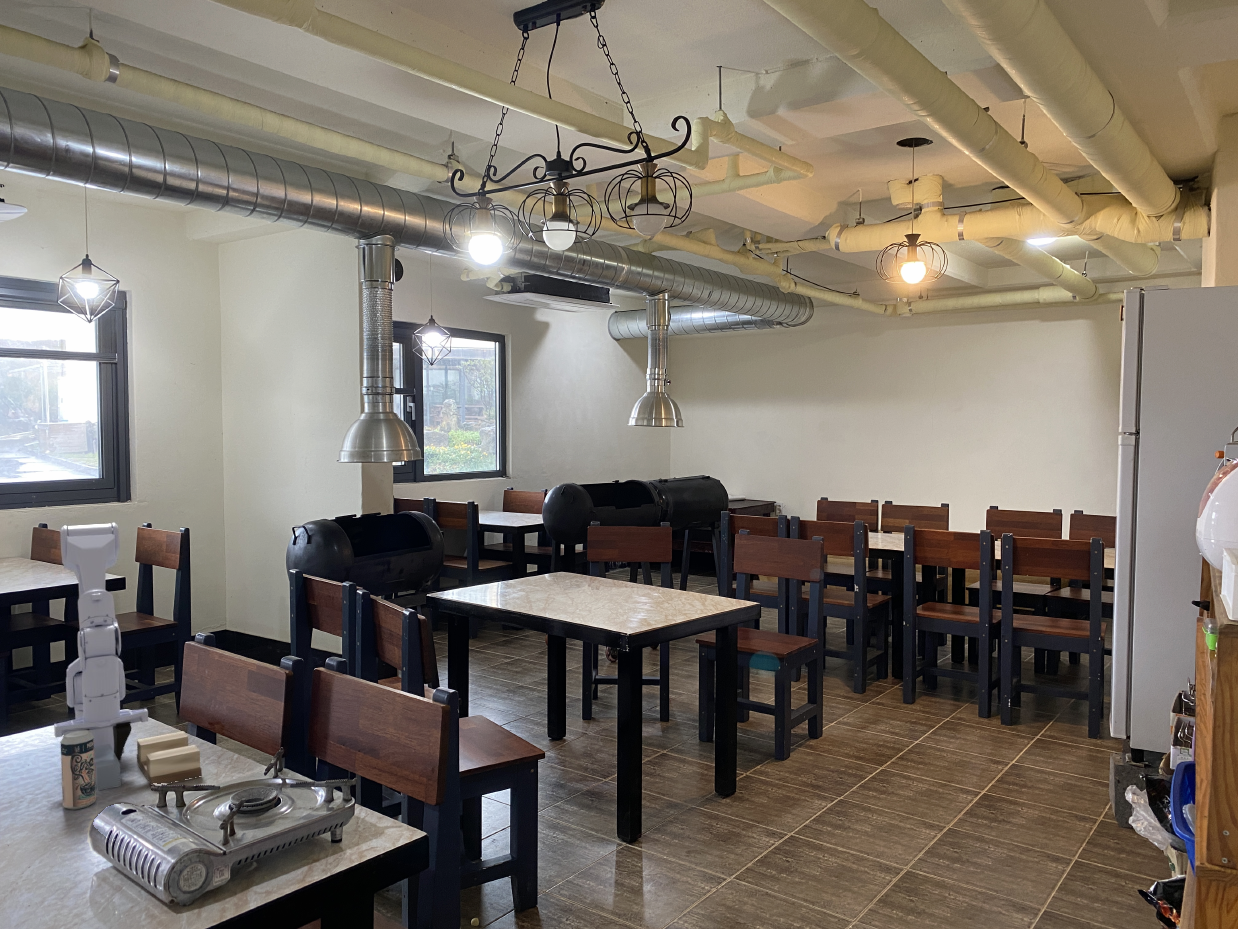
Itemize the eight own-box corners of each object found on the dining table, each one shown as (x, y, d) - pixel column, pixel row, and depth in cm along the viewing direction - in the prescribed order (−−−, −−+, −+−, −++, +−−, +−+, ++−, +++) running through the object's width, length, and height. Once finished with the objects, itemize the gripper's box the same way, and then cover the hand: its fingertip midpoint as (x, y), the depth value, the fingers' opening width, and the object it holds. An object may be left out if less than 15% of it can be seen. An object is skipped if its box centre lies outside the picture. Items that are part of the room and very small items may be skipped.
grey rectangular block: (88, 769, 170) (87, 747, 170) (110, 765, 172) (109, 743, 172) (97, 790, 160) (96, 767, 159) (120, 785, 162) (119, 763, 161)
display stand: (136, 762, 173) (136, 738, 173) (183, 753, 178) (182, 729, 178) (152, 787, 160) (151, 762, 160) (201, 777, 165) (200, 752, 165)
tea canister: (80, 812, 150) (78, 738, 150) (55, 810, 151) (52, 737, 151) (102, 800, 155) (100, 729, 155) (78, 798, 156) (75, 728, 156)
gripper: (55, 705, 158) (58, 784, 158) (150, 690, 166) (152, 765, 167) (52, 696, 164) (54, 772, 164) (143, 682, 172) (145, 754, 172)
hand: (103, 768), depth 166 cm, fingers closed on grey rectangular block, 3 cm apart
